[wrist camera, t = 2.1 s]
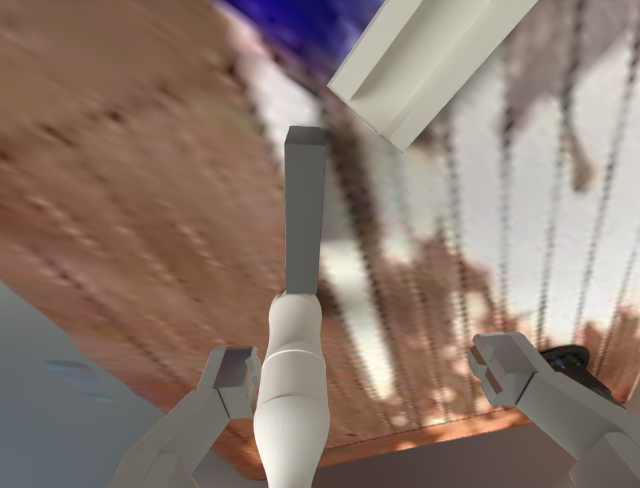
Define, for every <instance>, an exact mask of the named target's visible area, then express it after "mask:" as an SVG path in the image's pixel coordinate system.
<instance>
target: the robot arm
mask: <svg viewBox="0 0 640 488" xmlns="http://www.w3.org/2000/svg"><path fill="white" fill-rule="evenodd" d="M472 341H473V343H474V346H473V347H471V348H470V349H469V352H468V363H469V366H470V368H471V370H472V372H473V374H474V376H476V377H477V378H478V379H480V380H481V381H482V382H481V389H482V390H483V392H484V394H485V396H486V397H487V399H488V401H489V403H490V405H491V406H506V405H517V406H516V407H517V408H518V409H519V410H520V411H522V412H523V413H524V414H525V415H526V416H527V417H528V418H530V419H531V420H532V421H533V422H534V423H535V424H537V425H538V426H539V427H540V428H541V429H542V430H543V431H545V432H546V433H547V434H548V435H549V436H550V437H552V438H553V439H554V440H555V441H556V442H557V443H558V444H560V445H561V446H562V447H563V448H564V449H565V450H566V451H568V452H569V453H570V454H571V455H572V456H573V457H575V458H576V459H577V460H578V462H577V463H576V465H575V466H573V468H572V469H571V470H570V473H569V476H570V477H571V479H572V480H573V482H574V483H575V485H576V487H577V488H640V419H638V418H637V417H635V416H633V415H632V414H630V413H628V412H627V411H625V410H623V409H622V408H620V407H618V406H617V405H615V404H613V403H611V402H610V401H608V400H606V399H605V398H603V397H601V396H600V395H598V394H596V393H595V392H593V391H591V390H590V389H588V388H586V387H584V386H583V385H581V384H579V383H578V382H576V381H574V380H573V379H571V378H569V377H568V376H566V375H564V374H563V373H561V372H555V371H554V370H553V369H552V367H551V366H550V365H549V364H548V363H547V362H546V360H545V359H544V358H543V357H542V356H541V355H540V353H539V352H538V351H537V350H536V349H535V348H534V346H533V345H532V344H531V343H530V342H529V341H528V339H527V338H526V337H525V336H524V335H523V334H522V333H520V332H506V333H503V332H501V333H485V334H476V335H475V336H474V338H473V340H472ZM257 352H258V351H257V348H256V346H227V347H214V349H213V350H212V351H211V353H210V356H209V359H208V361H207V364H206V366H205V369H204V371H203V374H202V376H201V379H200V381H199V384H198V387H197V389H196V390H191V391H190V392H189V393H188V394H187V395H186V396H185V397H184V398H183V399H182V400H181V401H180V402H179V403H178V404H177V405H176V406H175V407H174V408H173V409H172V410H171V411H170V412H169V413H167V414H166V415H165V417H163V418H162V419H161V420H160V421H159V422H158V423H157V424H156V425H155V426H154V427H153V428H152V429H151V430H150V431H149V432H148V433H147V434H146V435H144V436H143V437H142V439H140V440H139V441H138V442H137V443H136V444H135V445H134V446H133V447H132V448H131V449H130V450H129V451H128V452H127V453H126V454H125V456H124V458H123V460H122V462H121V464H120V465H119V467H118V469H117V471H116V473H115V475H114V477H113V479H112V481H111V483H110V485H109V487H108V488H199V487H198V486H197V484H196V482H195V481H194V480H193V478H192V477H191V473H192V472H193V470H194V469H195V468H196V466H197V465H198V464H199V462H200V461H201V460H202V458H203V457H204V455H205V454H206V453H207V451H208V450H209V449H210V447H211V446H212V444H213V443H214V442H215V440H216V439H217V437H218V436H219V435H220V433H221V432H222V431H223V429H224V428H225V426H226V425H227V424H228V422H229V421H230V420H229V419H236V418H249V417H254V412H255V407H256V402H257V395H256V392H255V390H256V389H257V388H258V387H259V386H260V380H261V363H260V359H258V358H257Z"/></svg>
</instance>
